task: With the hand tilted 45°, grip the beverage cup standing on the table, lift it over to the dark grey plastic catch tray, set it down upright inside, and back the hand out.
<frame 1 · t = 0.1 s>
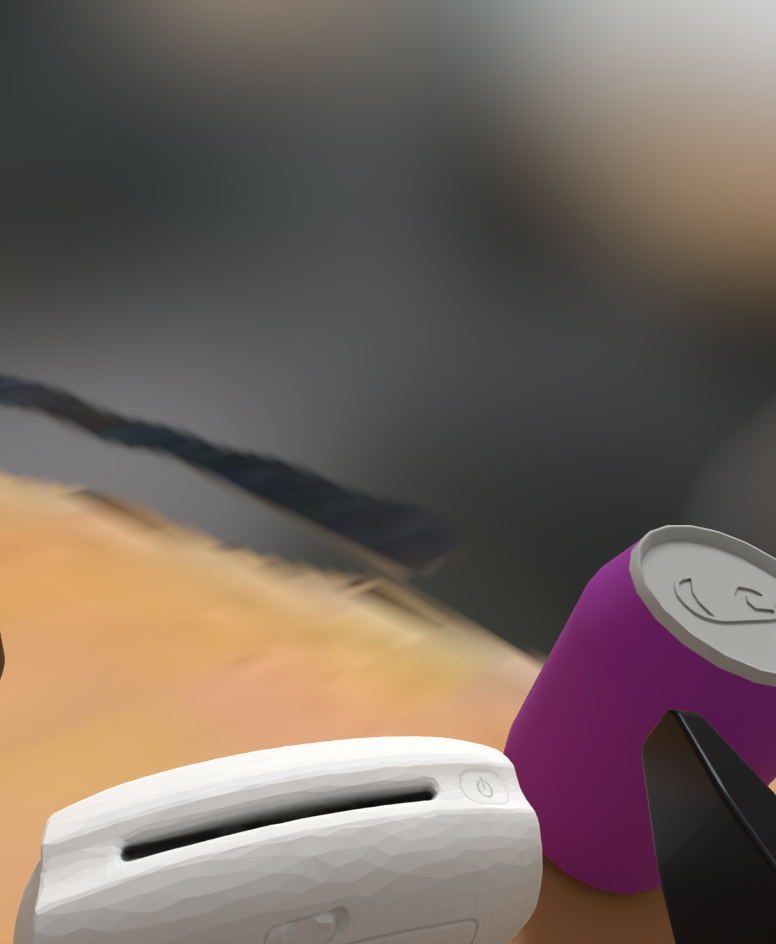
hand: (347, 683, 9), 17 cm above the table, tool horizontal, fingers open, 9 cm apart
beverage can: (584, 802, 27), on the table
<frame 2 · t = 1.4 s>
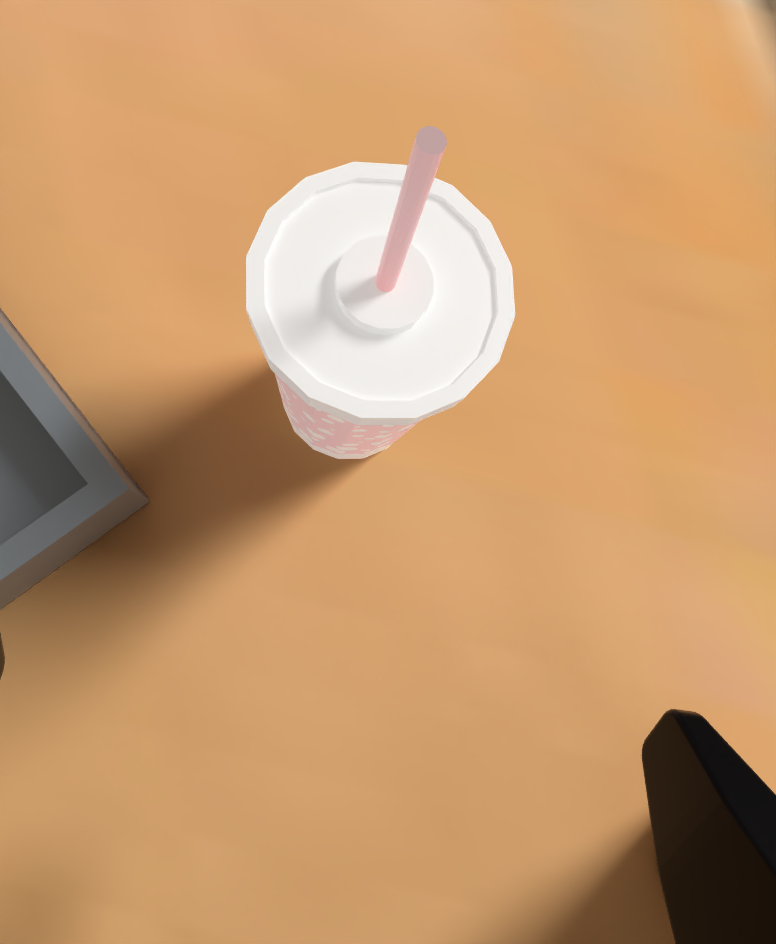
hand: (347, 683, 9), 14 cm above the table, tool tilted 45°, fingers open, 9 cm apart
beverage cup: (348, 397, 24), on the table
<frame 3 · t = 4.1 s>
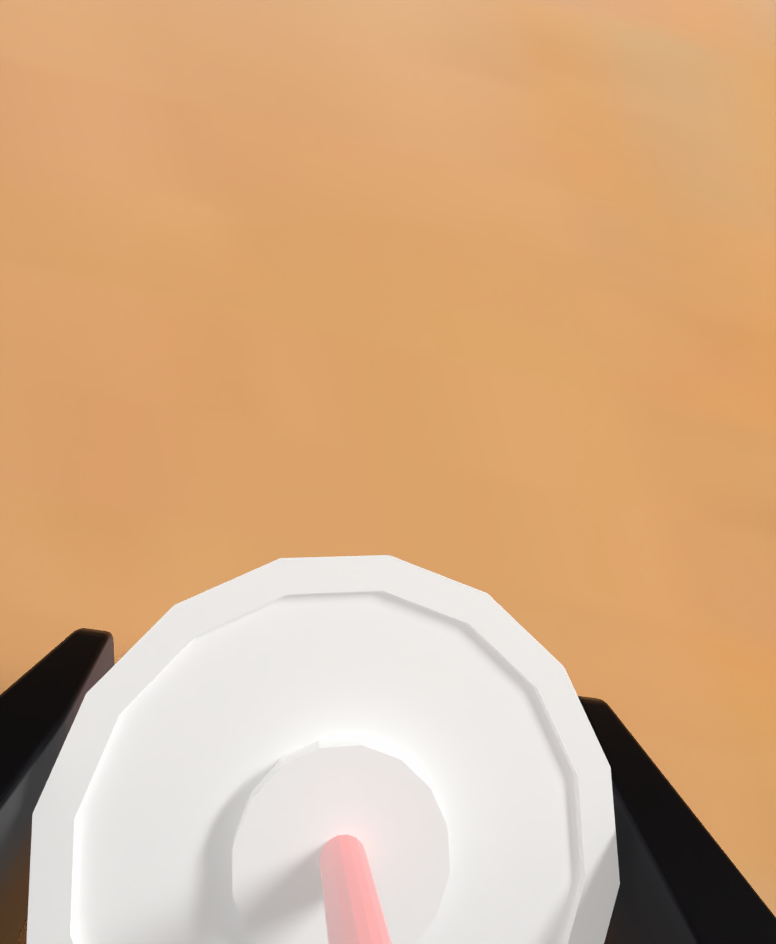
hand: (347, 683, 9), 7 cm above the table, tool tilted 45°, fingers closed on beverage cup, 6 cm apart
beverage cup: (311, 697, 16), on the table, touching gripper
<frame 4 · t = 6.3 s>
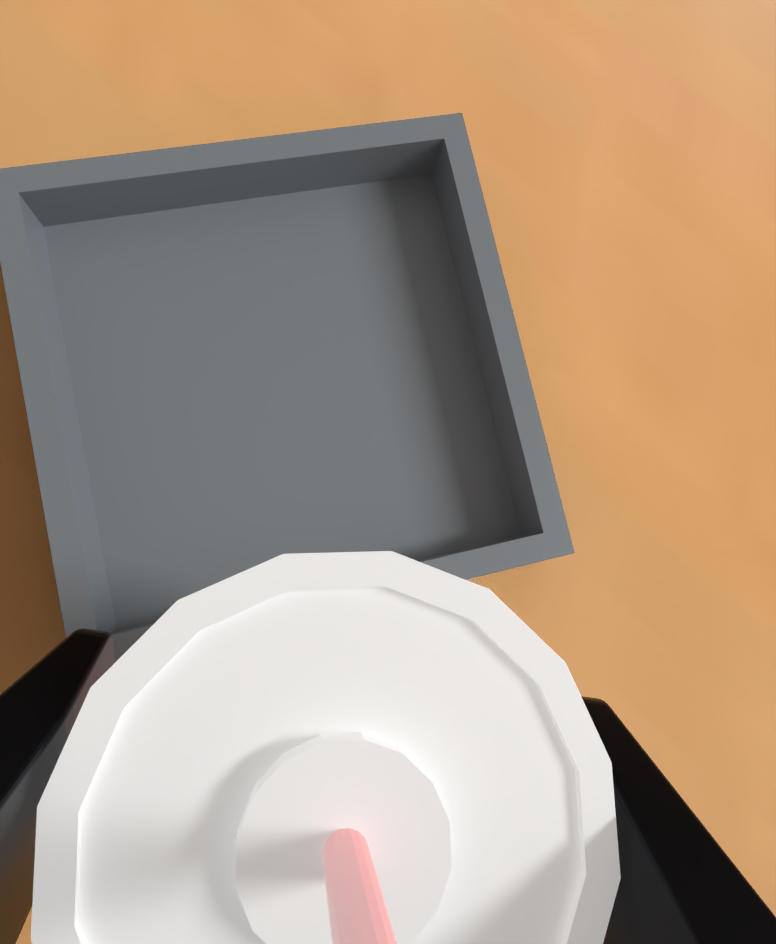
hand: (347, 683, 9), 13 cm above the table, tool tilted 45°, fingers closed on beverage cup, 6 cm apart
catch tray: (287, 391, 23), on the table
beverage cup: (312, 694, 16), point 6 cm above the table, touching gripper
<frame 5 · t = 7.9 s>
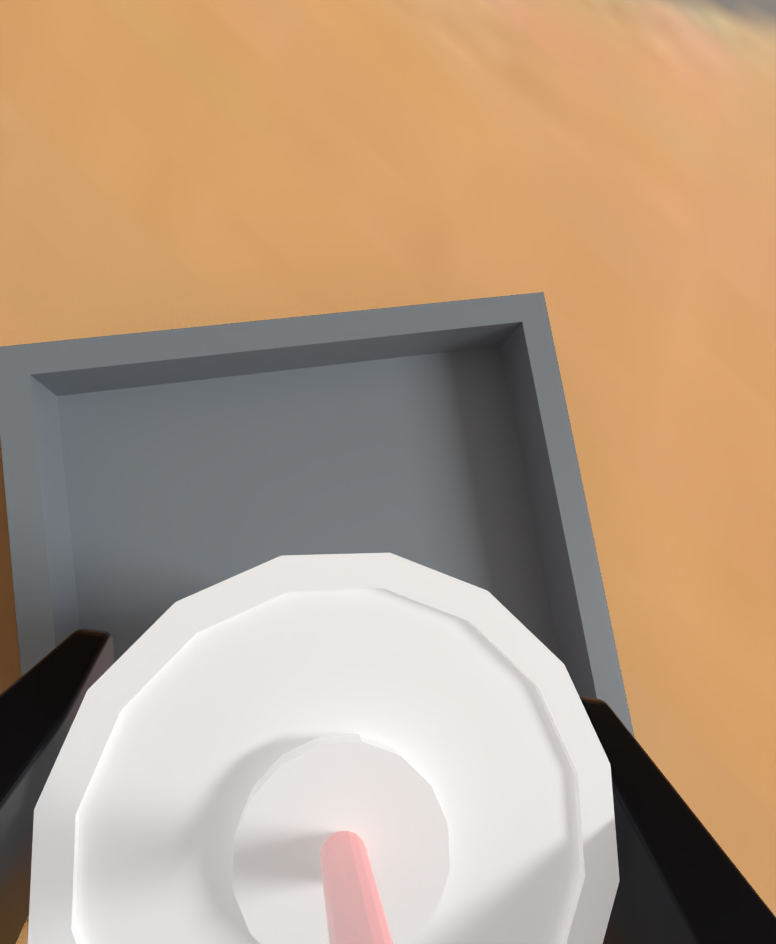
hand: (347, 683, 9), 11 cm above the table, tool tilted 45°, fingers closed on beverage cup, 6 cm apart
catch tray: (322, 590, 20), on the table
beverage cup: (312, 695, 16), point 4 cm above the table, touching gripper
when the fingers open (10 cm above the table, at t = 8.9 s): beverage cup drops 2 cm, resting on catch tray.
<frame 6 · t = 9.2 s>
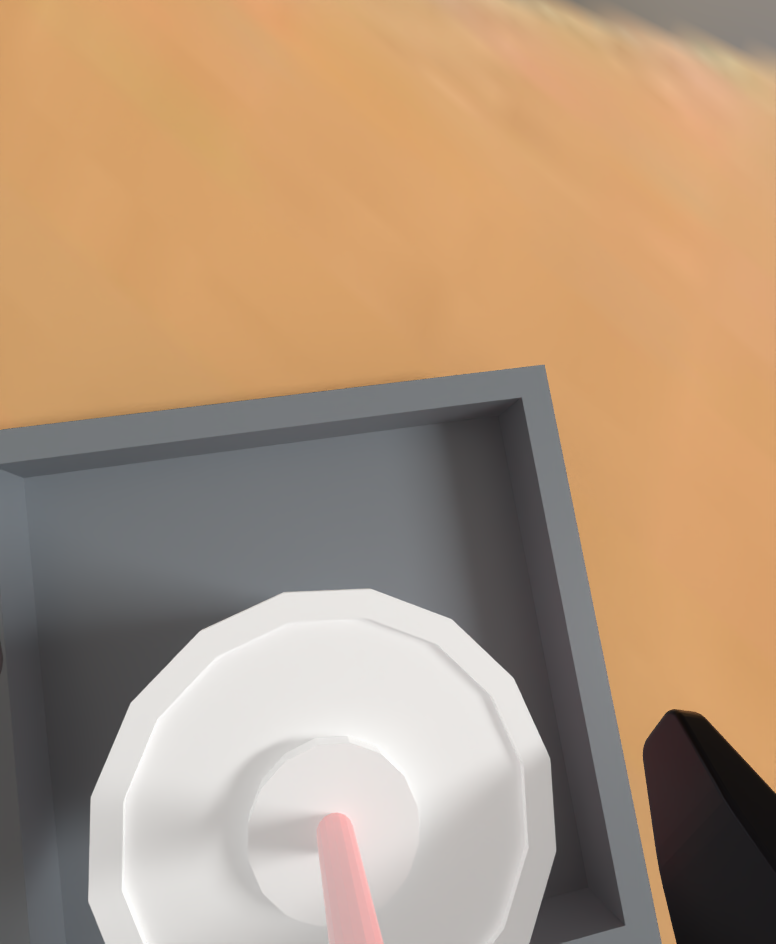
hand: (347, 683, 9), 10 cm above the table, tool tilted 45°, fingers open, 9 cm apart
catch tray: (308, 679, 18), on the table
beverage cup: (309, 693, 18), point 1 cm above the table, touching catch tray
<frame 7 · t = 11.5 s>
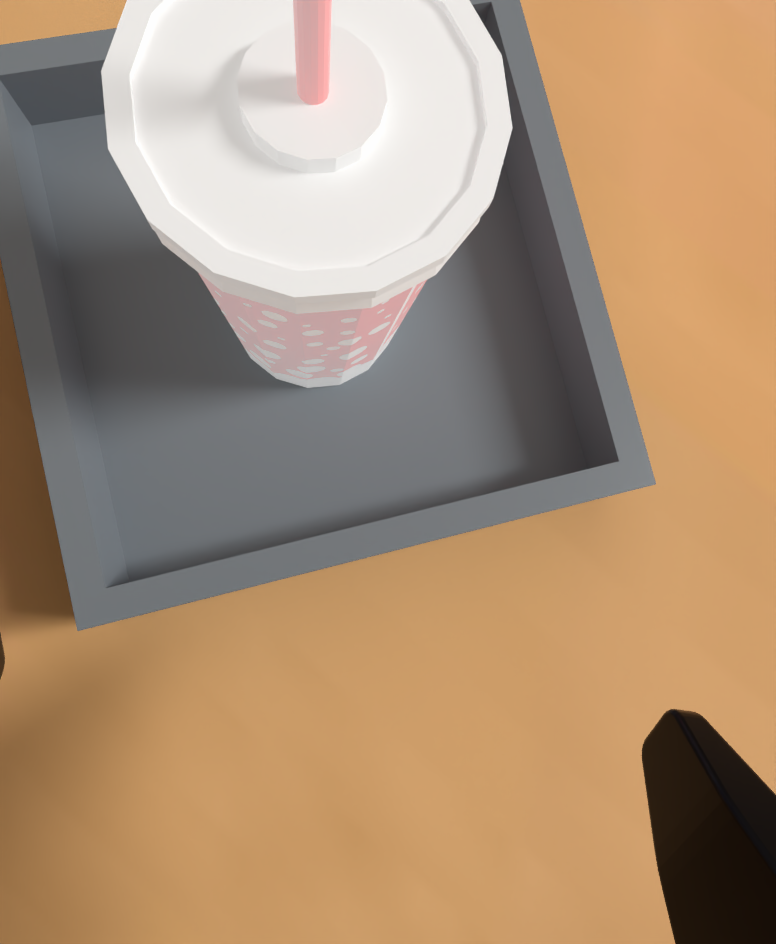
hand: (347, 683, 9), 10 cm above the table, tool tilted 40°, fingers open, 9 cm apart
catch tray: (314, 312, 20), on the table
beverage cup: (314, 310, 19), point 1 cm above the table, touching catch tray
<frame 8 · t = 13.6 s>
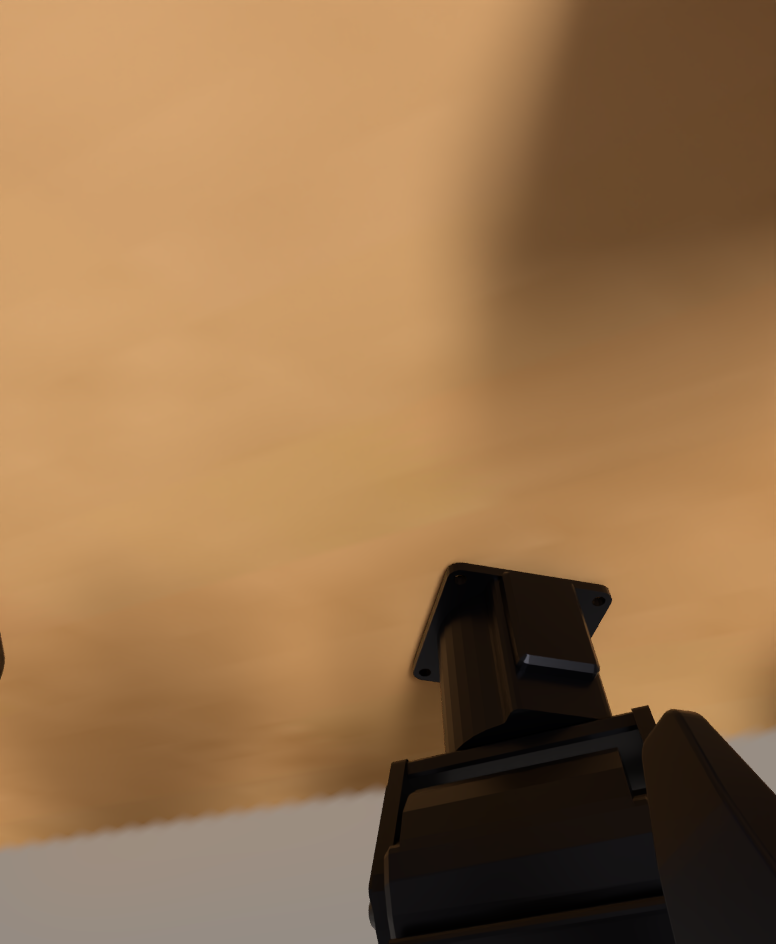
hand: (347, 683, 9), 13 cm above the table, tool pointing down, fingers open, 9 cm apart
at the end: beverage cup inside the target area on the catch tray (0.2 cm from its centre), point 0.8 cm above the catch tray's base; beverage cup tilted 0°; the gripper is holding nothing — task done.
